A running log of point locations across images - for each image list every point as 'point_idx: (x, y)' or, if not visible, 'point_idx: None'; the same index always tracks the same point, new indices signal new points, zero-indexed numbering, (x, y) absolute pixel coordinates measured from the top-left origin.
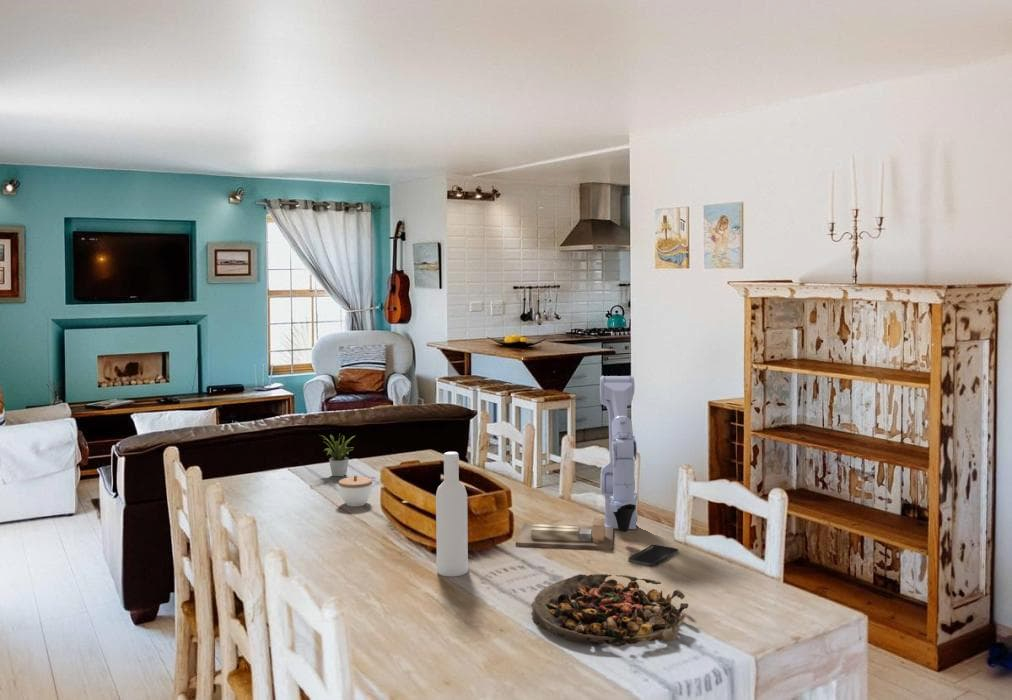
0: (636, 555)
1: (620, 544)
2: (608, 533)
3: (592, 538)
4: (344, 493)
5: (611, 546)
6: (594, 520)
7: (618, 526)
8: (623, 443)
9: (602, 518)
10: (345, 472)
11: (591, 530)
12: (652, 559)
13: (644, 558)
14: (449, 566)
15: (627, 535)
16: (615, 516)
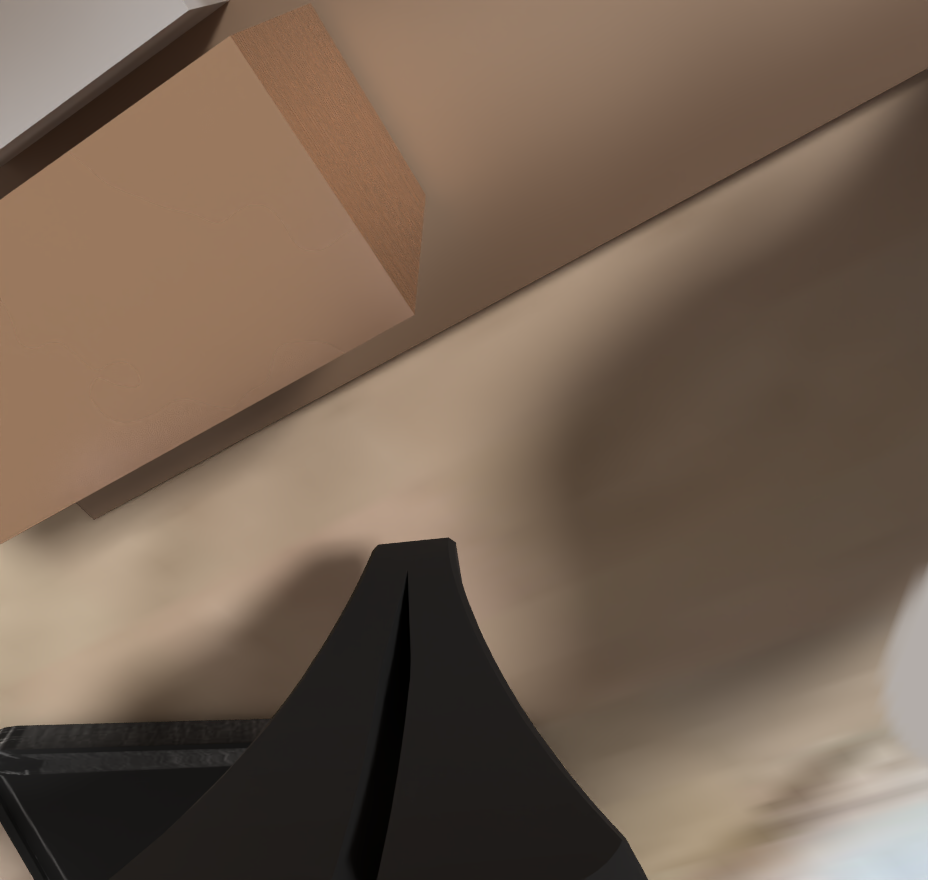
0: (128, 757)
1: (375, 460)
2: (580, 173)
3: (139, 99)
4: None
5: (91, 514)
6: (59, 193)
7: (354, 600)
8: None
9: (379, 264)
10: None
11: (144, 44)
12: None
13: (121, 820)
14: None
15: (795, 343)
16: (247, 753)
